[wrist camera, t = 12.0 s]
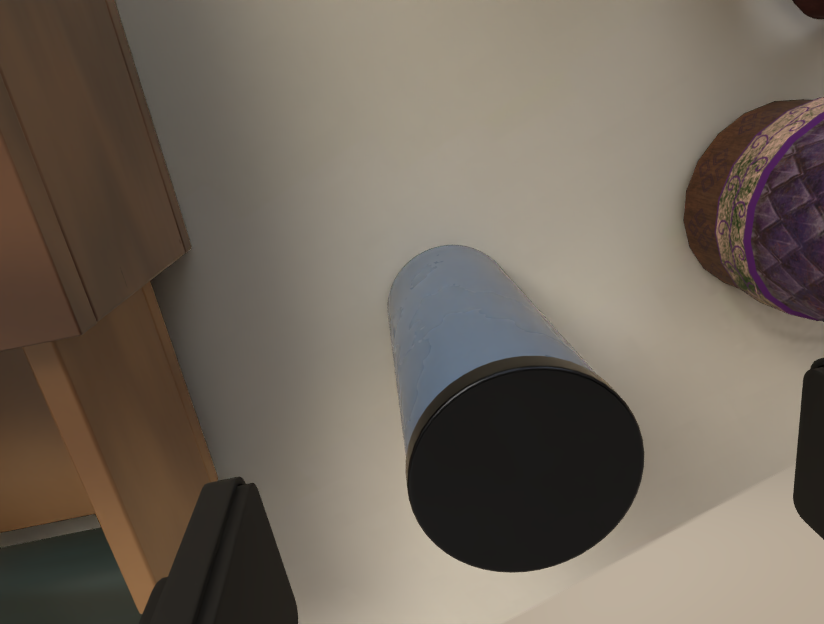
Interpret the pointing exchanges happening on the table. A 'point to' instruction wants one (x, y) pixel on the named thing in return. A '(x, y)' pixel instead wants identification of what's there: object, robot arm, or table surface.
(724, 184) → the mug
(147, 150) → the cabinet
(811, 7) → the watch
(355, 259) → the table surface
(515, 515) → the tin
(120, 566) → the drawer
